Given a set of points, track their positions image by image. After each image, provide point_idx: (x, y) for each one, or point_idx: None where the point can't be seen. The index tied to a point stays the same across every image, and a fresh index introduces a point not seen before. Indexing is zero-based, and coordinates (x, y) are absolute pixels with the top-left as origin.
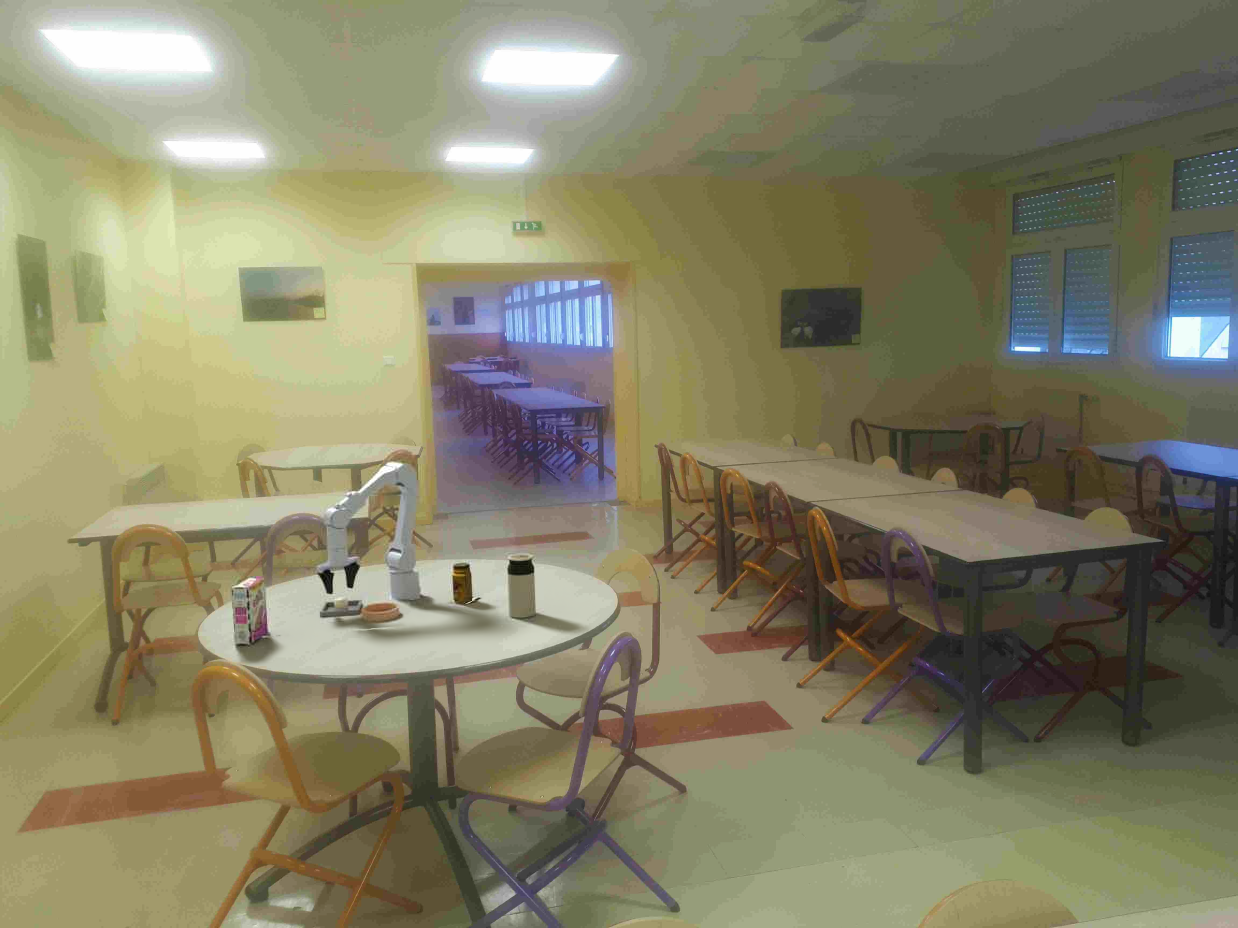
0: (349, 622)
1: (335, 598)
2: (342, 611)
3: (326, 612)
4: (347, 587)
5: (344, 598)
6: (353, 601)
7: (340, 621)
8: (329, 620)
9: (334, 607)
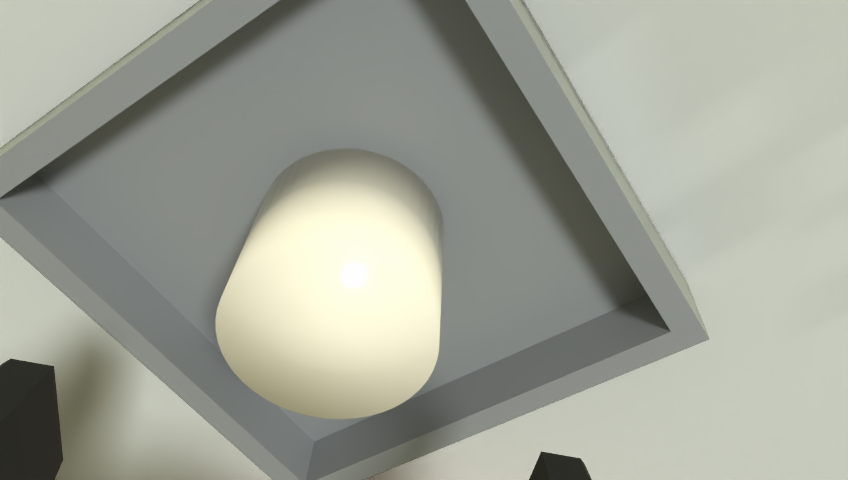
0: (119, 477)
1: (306, 253)
2: (186, 390)
3: (32, 253)
4: (538, 458)
5: (369, 374)
6: (631, 263)
7: (87, 399)
8: (35, 287)
9: (271, 197)
